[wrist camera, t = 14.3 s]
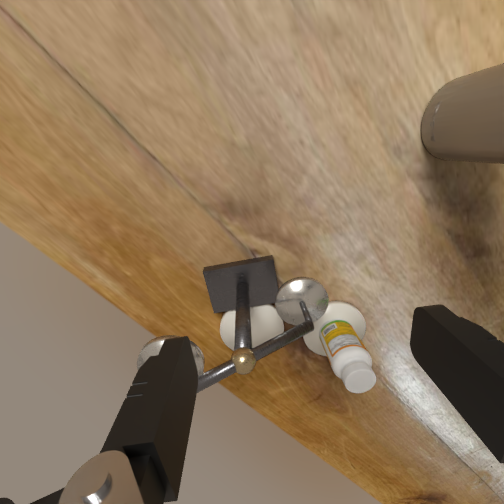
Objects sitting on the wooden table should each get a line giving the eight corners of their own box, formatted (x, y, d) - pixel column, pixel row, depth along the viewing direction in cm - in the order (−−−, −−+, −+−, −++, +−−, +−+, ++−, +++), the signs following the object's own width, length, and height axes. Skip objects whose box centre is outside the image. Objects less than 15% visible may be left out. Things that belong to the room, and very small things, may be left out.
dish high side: (280, 295, 40) (282, 299, 39) (284, 346, 44) (285, 351, 43) (216, 302, 40) (215, 306, 39) (225, 352, 44) (224, 358, 43)
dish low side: (364, 297, 41) (367, 301, 40) (361, 347, 45) (363, 353, 44) (300, 304, 41) (302, 308, 40) (302, 354, 45) (304, 359, 44)
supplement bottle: (347, 346, 43) (375, 398, 34) (315, 343, 43) (334, 396, 34) (355, 318, 41) (388, 366, 32) (322, 316, 41) (345, 364, 32)
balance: (309, 248, 38) (372, 341, 20) (314, 290, 40) (372, 406, 22) (167, 273, 38) (101, 386, 20) (180, 313, 41) (132, 444, 23)
